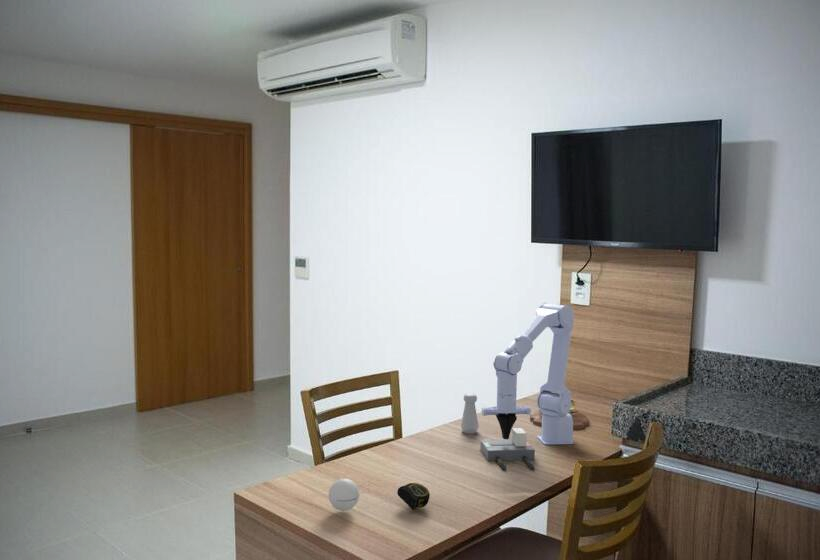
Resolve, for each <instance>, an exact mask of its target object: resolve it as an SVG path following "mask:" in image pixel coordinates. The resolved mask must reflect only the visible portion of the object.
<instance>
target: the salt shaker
mask: <svg viewBox="0 0 820 560" xmlns="http://www.w3.org/2000/svg"><path fill="white" fill-rule="evenodd" d="M477 401H478V396H477V395H476V394H475V393H466V394H465V395H464V396H463V402H464V403H465V404H464V407H463V412H462V419H461V423H460V427H461V430H462V432H463V433H464V434H467V435H474V434H476V433H477V432H478V429H479V426H480V424H479V421H478V419H479V418H478V414H477V410H476V409H477V407H476V402H477Z"/></svg>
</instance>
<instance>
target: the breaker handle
mask: <svg viewBox="0 0 820 560" xmlns="http://www.w3.org/2000/svg"><path fill="white" fill-rule="evenodd" d="M511 439H512V442H513V443H514V445H515V446H516V447H519V446H526V440H527V432H526V430H524V429H523V428H522V427H520V428H519V427H515V428H514V427H512V429H511Z"/></svg>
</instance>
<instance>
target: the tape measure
mask: <svg viewBox="0 0 820 560" xmlns="http://www.w3.org/2000/svg"><path fill="white" fill-rule="evenodd" d="M430 495H431V494H430V491H429V489H428V488H427V486H425V485H423V484H420V483H418V482H411V483H410V482H409V483H407V484H405V485H402V486H400V487H399V488H398V489H397V496H398V497H399V498H400V499H401V500H402V501H403V502H404V503H405V504H406V505H408V507H409V508H410V509H411V510H416V509H421V508H424V507H426V505H427V504H428V503H429V501H430Z"/></svg>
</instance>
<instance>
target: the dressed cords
mask: <svg viewBox="0 0 820 560" xmlns="http://www.w3.org/2000/svg"><path fill="white" fill-rule="evenodd" d="M495 461H497V463H498V464H499V466H500V468H501V469H502V470H503V471H506V470H508V467H507V466H506V464H505V463H504V460H501V459H500V457H498V456H497V457H496V460H495ZM522 461H524V462H525V464H526V465H527V466H528V467H529V469H530V470H534V469H535V465H534V464H533V463H532V461H530V460H529V459H528V458H527V457H526V456H523V460H522Z"/></svg>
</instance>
